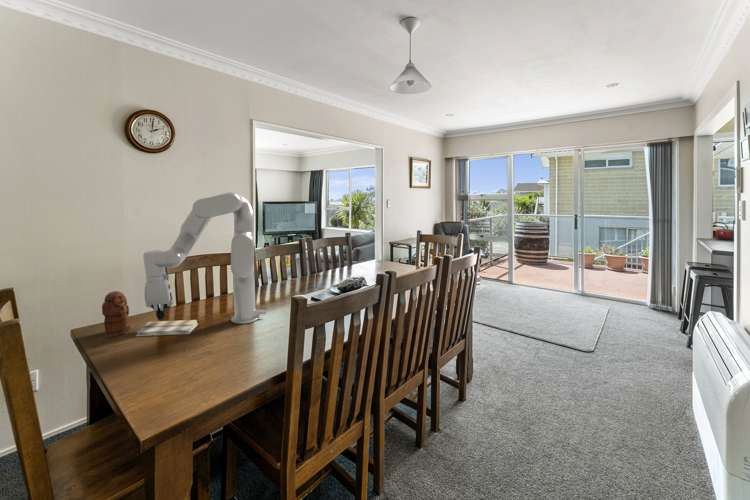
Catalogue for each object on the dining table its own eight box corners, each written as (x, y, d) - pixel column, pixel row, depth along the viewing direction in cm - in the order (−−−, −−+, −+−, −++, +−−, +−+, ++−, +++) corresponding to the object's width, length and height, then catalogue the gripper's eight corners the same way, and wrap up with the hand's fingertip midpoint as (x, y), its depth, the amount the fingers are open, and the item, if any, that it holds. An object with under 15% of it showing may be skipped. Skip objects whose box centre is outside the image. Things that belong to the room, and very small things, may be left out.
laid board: (192, 328, 160) (192, 325, 159) (188, 332, 154) (188, 329, 154) (143, 330, 156) (143, 327, 156) (137, 335, 151) (136, 332, 151)
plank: (196, 322, 165) (196, 319, 165) (192, 327, 160) (192, 325, 160) (149, 324, 162) (149, 321, 162) (143, 330, 157) (143, 327, 157)
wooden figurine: (120, 337, 150) (116, 295, 147) (103, 338, 149) (98, 295, 146) (133, 326, 161) (130, 287, 158) (117, 327, 160) (113, 288, 157)
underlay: (198, 324, 166) (198, 323, 166) (189, 333, 154) (189, 333, 154) (148, 326, 162) (148, 325, 162) (135, 336, 151) (135, 335, 151)
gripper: (177, 275, 163) (182, 314, 166) (142, 277, 160) (147, 317, 164) (171, 279, 155) (176, 320, 158) (133, 281, 153) (139, 323, 156)
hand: (161, 318), depth 161 cm, fingers closed
